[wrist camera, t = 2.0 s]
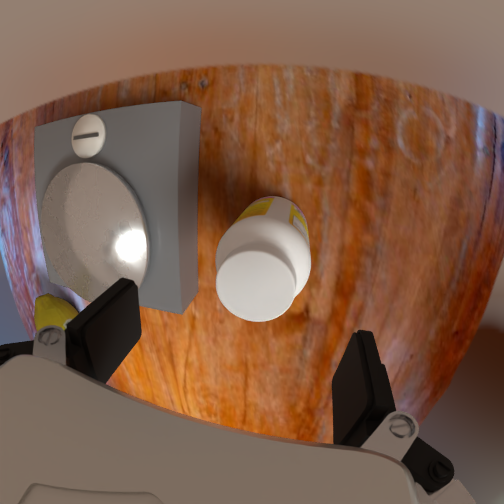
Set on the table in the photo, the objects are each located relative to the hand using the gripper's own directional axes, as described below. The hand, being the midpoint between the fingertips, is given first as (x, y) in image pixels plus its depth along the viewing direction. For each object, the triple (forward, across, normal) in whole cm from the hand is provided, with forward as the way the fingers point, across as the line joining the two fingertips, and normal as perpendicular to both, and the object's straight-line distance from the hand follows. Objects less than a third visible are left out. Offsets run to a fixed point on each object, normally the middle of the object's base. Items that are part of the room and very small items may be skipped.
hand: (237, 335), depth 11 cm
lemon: (+18, +29, +20) cm, 39 cm away
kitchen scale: (+18, +18, +1) cm, 25 cm away
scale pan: (+12, +18, +3) cm, 22 cm away
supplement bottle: (+18, 0, +1) cm, 18 cm away
